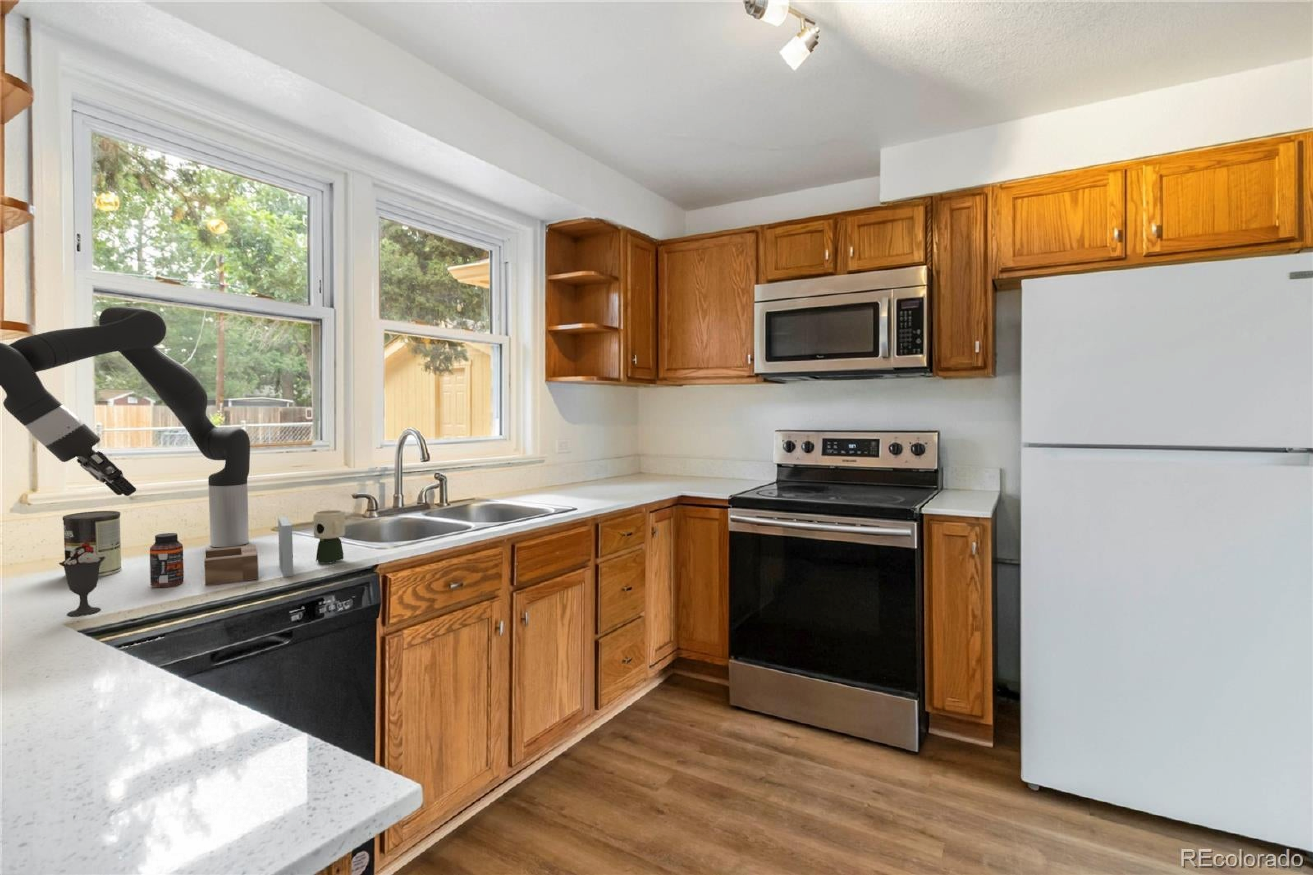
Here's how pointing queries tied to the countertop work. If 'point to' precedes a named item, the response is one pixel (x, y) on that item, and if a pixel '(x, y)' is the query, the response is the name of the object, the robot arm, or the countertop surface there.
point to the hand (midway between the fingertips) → (127, 493)
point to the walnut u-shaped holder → (231, 564)
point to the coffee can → (96, 536)
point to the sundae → (82, 575)
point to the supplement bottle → (166, 561)
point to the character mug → (329, 534)
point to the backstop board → (285, 546)
